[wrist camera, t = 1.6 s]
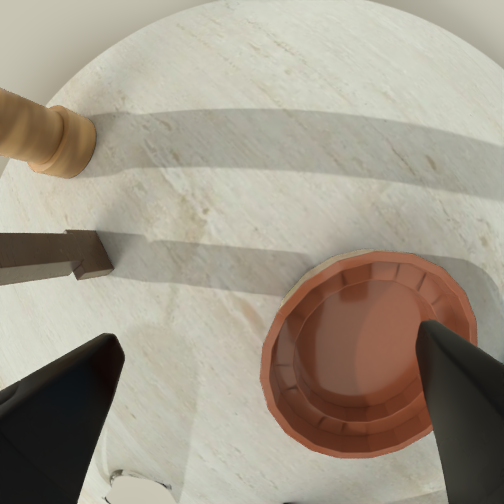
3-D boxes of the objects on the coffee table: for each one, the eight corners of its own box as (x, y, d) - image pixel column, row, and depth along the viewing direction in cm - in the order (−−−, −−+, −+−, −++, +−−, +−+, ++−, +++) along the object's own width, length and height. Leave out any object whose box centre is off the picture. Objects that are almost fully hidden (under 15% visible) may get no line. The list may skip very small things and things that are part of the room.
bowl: (393, 438, 21) (406, 473, 16) (243, 387, 23) (227, 419, 18) (473, 290, 19) (507, 301, 14) (315, 218, 21) (318, 212, 16)
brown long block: (119, 264, 24) (-7, 281, 12) (102, 279, 25) (-19, 301, 12) (99, 226, 25) (-23, 220, 12) (83, 241, 25) (-35, 244, 12)
